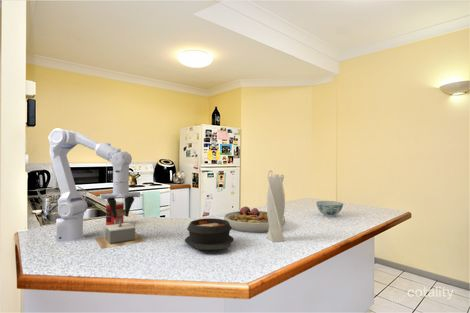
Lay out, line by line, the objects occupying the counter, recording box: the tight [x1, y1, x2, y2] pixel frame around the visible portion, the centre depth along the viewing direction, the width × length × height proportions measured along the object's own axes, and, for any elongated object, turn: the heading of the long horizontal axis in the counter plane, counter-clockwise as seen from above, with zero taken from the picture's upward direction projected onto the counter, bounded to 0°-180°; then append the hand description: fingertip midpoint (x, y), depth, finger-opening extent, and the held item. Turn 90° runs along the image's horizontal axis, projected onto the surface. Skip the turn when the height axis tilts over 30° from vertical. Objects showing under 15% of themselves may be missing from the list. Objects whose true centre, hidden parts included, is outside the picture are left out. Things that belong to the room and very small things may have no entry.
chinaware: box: [315, 200, 344, 218], centre depth 158 cm, size 15×15×8 cm
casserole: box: [184, 217, 234, 251], centre depth 102 cm, size 25×19×8 cm
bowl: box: [223, 206, 286, 233], centre depth 132 cm, size 30×30×8 cm
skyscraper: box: [266, 170, 286, 243], centre depth 109 cm, size 8×8×28 cm
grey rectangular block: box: [104, 222, 136, 244], centre depth 106 cm, size 10×9×5 cm
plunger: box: [116, 208, 126, 227], centre depth 105 cm, size 7×7×8 cm
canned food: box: [105, 201, 125, 226], centre depth 131 cm, size 8×8×11 cm
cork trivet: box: [94, 231, 147, 250], centre depth 105 cm, size 16×16×1 cm
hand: (120, 216), depth 105 cm, fingers closed on plunger, 4 cm apart
